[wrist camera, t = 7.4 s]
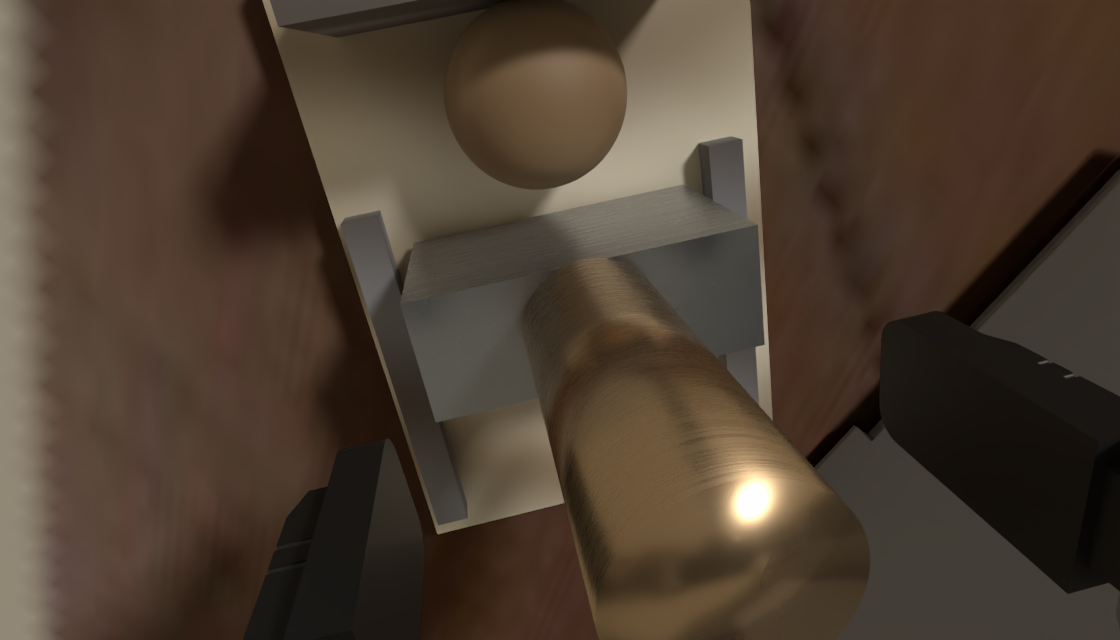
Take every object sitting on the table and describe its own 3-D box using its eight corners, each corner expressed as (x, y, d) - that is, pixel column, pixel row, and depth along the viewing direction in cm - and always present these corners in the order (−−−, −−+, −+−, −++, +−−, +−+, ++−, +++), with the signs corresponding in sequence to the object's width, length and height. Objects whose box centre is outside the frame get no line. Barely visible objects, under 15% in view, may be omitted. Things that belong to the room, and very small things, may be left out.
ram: (412, 239, 18) (334, 581, 6) (683, 181, 19) (1084, 393, 7) (440, 339, 19) (420, 784, 8) (693, 282, 20) (1048, 610, 8)
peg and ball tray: (262, -34, 17) (136, -95, 10) (724, -117, 17) (890, -225, 11) (438, 512, 24) (431, 687, 17) (759, 433, 25) (872, 570, 18)
